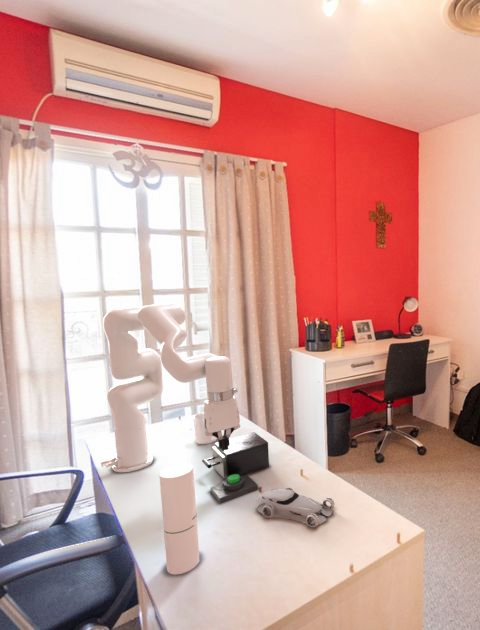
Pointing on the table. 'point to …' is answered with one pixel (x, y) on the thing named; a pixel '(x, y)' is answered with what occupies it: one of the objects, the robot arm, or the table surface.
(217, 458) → the drawer
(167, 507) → the cylindrical container
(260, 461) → the cabinet
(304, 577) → the table surface
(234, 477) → the button
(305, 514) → the car model
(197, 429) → the mug
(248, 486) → the control block
